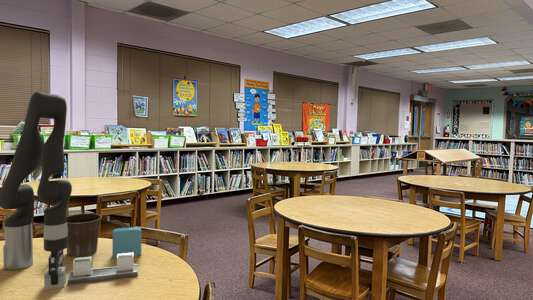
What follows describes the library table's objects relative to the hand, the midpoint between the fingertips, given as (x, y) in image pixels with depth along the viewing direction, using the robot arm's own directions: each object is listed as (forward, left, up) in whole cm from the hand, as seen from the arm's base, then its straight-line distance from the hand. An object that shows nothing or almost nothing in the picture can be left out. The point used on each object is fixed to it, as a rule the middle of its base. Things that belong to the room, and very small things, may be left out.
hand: (56, 279), depth 127 cm
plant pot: (+4, +34, -3) cm, 34 cm away
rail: (+15, +4, -2) cm, 16 cm away
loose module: (-1, 0, -2) cm, 2 cm away
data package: (+23, +25, -3) cm, 34 cm away
